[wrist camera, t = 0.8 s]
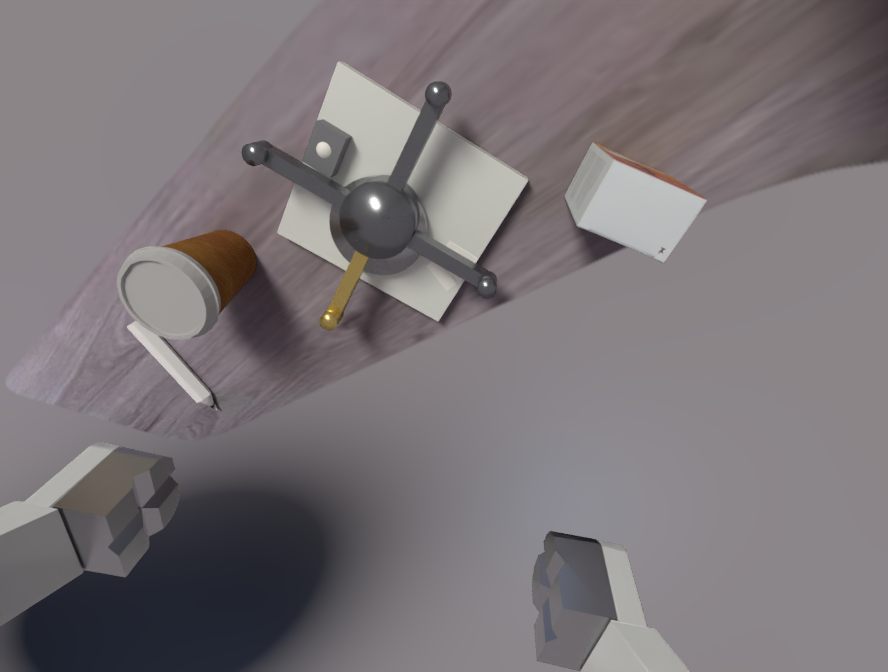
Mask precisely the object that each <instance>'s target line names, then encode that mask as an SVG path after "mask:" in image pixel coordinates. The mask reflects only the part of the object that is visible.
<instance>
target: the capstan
mask: <svg viewBox="0 0 888 672" xmlns="http://www.w3.org/2000/svg"><path fill="white" fill-rule="evenodd" d="M451 95H452V93H451V89H450V87H449V85H448V84H447V83H445V82H433V83H431V84H429V86H428V87H427V89H426V92H425V97H426V101H425V103H424V105H423V108H422V110H421V112H420V114H419V116H418V118H417V120H416V122H415V125H414V127H413V129H412V131H411V133H410V135H409V137H408V140H407V142H406V144H405V146H404V148H403V150H402V152H401V155H400V157H399V159H398V161H397V163H396V165H395V167H394V169H393V172H392V174H391V176H390V175H378V176H376V175H375V176H366V177H362V178H359V179H357V180H355V181H353V182H351V183H350V184H348V185H347V186H346V187H343V186H342V185H340V184H338V183H337V182H335V181H333V180H331V179H330V178H328V177H326V176H325V175H323V174H321V173H319V172H318V171H316V170H314V169H313V168H311V167H309V166H307V165H306V164H304V163H302V162H300V161H299V160H297V159H295V158H294V157H292V156H290V155H288V154H287V153H285V152H283V151H282V150H280V149H278V148H276V147H275V146H273V145H271V144H270V143H269V142H267V141H264V140H262V141H258V142H254V143H250V144H246V145H245V146H244V147H243V148H242V157H243V159H244V160H245V162H246V163H247V164H249V165H251V166H257V165H260V164H263V165H264V166H266V167H268V168H270V169H271V170H273V171H275V172H277V173H278V174H280V175H282V176H284V177H285V178H287V179H289V180H291V181H292V182H294V183H296V184H298V185H299V186H301V187H303V188H305V189H306V190H308V191H310V192H312V193H313V194H315V195H317V196H319V197H320V198H322V199H324V200H326V201H327V202H329V203H331V204H332V207H331V211H330V219H329V223H330V231H331V235H332V238H333V241H334V243H335V245H336V247H337V249H338V250H339V252H340V253H341V254H342V256H343V257H344V258H345V259H346V260H347V261H348V262H349V265H348V268H347V270H346V272H345V274H344V276H343V278H342V280H341V283H340V285H339V287H338V289H337V291H336V293H335V295H334V297H333V300H332V302H331V304H330V306H329V308H328V309H327V310H326V311H325V313H324V314H323V315H322V317H321V318H320V320H319V323H320V326H321V327H322V328H323V329H325V330H328V331H331V330H333V329H335V327H336V326H337V324H338V323H339V321H340V320H341V319H342V317H343V315H344V310H345V308H346V306H347V304H348V302H349V300H350V298H351V296H352V294H353V292H354V289H355V287H356V285H357V283H358V281H359V279H360V277H361V275H362V273H363V271H364V272H367V273H370V274H375V275H392V274H396V273H399V272H401V271H404V270H405V269H407V268H409V267H410V266H411V265H412V264H413V263H414V262H415V261H416V260H417V259H418V257H419V256H420V255H422V256H423V257H425V258H427V259H429V260H430V261H432V262H434V263H436V264H437V265H439V266H441V267H443V268H444V269H446V270H448V271H450V272H451V273H453V274H455V275H457V276H458V277H460V278H462V279H464V280H465V281H467V282H469V283H470V284H472V285H474V286H476V287H477V292H478V294H479V295H480V296H481V297H482V298H491V297H493V296H494V295H495V293H496V284H497V278H496V275H495V274H494V273H492V272H490V271H488V270H486V269H484V268H483V267H481V266H479V265H478V264H476V263H474V262H472V261H471V260H469V259H467V258H466V257H464V256H462V255H460V254H459V253H457V252H455V251H454V250H452V249H450V248H448V247H447V246H445V245H443V244H441V243H440V242H438V241H436V240H435V239H433V238H431V237H429V236H428V223H427V217H426V213H425V211H424V208H423V206H422V204H421V202H420V201H419V199H418V196H417V195H416V193H415V191H414V190H413V189H412V188H411V186H410V185H408V184H407V182H408V180H409V178H410V176H411V174H412V172H413V170H414V168H415V166H416V164H417V162H418V160H419V158H420V156H421V154H422V152H423V149H424V147H425V145H426V143H427V141H428V139H429V137H430V135H431V133H432V131H433V129H434V127H435V125H436V123H437V121H438V119H439V117H440V115H441V113H442V111H443V109H444V107H445V105H446V104H448V103H449V101H450V99H451Z"/></svg>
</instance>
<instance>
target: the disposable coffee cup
mask: <svg viewBox="0 0 888 672" xmlns="http://www.w3.org/2000/svg"><path fill="white" fill-rule="evenodd" d="M255 269H256V257H255V254H254V252H253V249H252V248H251V246H250V245H249V244H248V242H247V241H246V240H245V239H244V238H242V237H241V236H239V235H238V234H236V233H234V232H231V231H228V230H218V231H214V232H211V233H207V234H204V235H200V236H197V237H193V238H190V239H186V240H183V241H179V242H176V243H172V244H169V245H165V246H162V247H158V246H151V247H143V248H140V249H138V250H136V251H134V252H132V253H131V254H130V255H129V256H128V257H127V259H126V260H125V262H124V265H123V266H122V267H121V269H120V271H119V273H118V276H117V288H118V292H119V296H120V299H121V301H122V303H123V305H124V307H125V308H126V310H127V311H128V313H129V314H130V315H131V316H132V317H133V318H134V319H135V320H136V321H137V322H138V323H139V324H140V325H141V326H143V327H144V328H146V329H147V330H149V331H150V332H152V333H154V334H156V335H159V336H161V337H164V338H167V339H175V340H181V339H188V338H192V337H198V336H201V335H203V334H205V333H207V332H208V331H209V330H211V329H212V328H213V326H214V325H215V323H216V322H217V320H218V316H219V314H220V312H221V311H222V310H223V309H224V308H225V307H226V305H227V304H228V303H229V302H230V301H231V300H232V298H233V297H234V296H235V295H236V294H237V293H238V291H239V290H240V289H241V288H242V287H243V286H244V284H245V283H246V282H247V281H248V280H249V278H250V277H251V276H252V275H253V273H254V272H255Z"/></svg>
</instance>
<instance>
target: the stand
mask: <svg viewBox="0 0 888 672" xmlns="http://www.w3.org/2000/svg"><path fill="white" fill-rule="evenodd" d="M420 112H421V110H419V109H418V108H416V107H415V106H413V105H411V104H410V103H408V102H407V101H405V100H403V99H402V98H400V97H399V96H397V95H395V94H394V93H392V92H391V91H389V90H387V89H386V88H384V87H383V86H381V85H379V84H378V83H376V82H375V81H373V80H371V79H370V78H368V77H367V76H365V75H364V74H362V73H360V72H359V71H357V70H356V69H354V68H352V67H351V66H349V65H348V64H346V63H344V62H339V61H338V63H337V66H336V69H335V71H334V74H333V77H332V80H331V83H330V86H329V88H328V91H327V94H326V97H325V100H324V102H323V105H322V108H321V111H320V114H319V116H318V119H317V121H316V123H315V126H314V129H313V131H312V134H311V137H310V140H309V143H308V146H307V148H306V151H305V154H304V157H303V160H302V163H304V164H306V165H307V166H309V167H311V168H313V169H314V170H316V171H318V172H319V173H321V174H323V175H325V176H326V177H328V178H330V179H331V180H333V181H335V182H337V183H338V184H340V185H342V186H343V187H346V186H347V185H348V184H350V183H351V182H353V181H355V180H357V179H359V178H362V177H366V176H375V175H376V176H378V175H390V176H391V174H392V172H393V169H394V167H395V165H396V163H397V161H398V159H399V157H400V155H401V152H402V150H403V148H404V146H405V144H406V142H407V140H408V137H409V135H410V133H411V131H412V129H413V127H414V125H415V122H416V120H417V118H418V116H419V114H420ZM527 182H528V177H526V176H524V175H523V174H521V173H520V172H518V171H517V170H515V169H513V168H512V167H510V166H509V165H507V164H505V163H504V162H502V161H501V160H499V159H497V158H496V157H494V156H493V155H491V154H489V153H488V152H486V151H485V150H483V149H481V148H480V147H478V146H477V145H475V144H473V143H472V142H470V141H469V140H467V139H466V138H464V137H462V136H461V135H459V134H458V133H456V132H454V131H453V130H451V129H450V128H448V127H446V126H445V125H443V124H442V123H440V122H438V121H437V123H436V125H435V127H434V129H433V131H432V133H431V135H430V137H429V139H428V141H427V143H426V145H425V147H424V149H423V152H422V154H421V156H420V158H419V160H418V162H417V164H416V166H415V168H414V170H413V172H412V174H411V176H410V178H409V180H408V182H407V184H408V185H410V186H411V188H412V189H413V190H414V191H415V193H416V195H417V196H418V199H419V201H420V202H421V204H422V206H423V208H424V211H425V213H426V217H427V223H428V236H429V237H431V238H433V239H435V240H436V241H438V242H440V243H441V244H443V245H445V246H447V247H448V248H450V249H452V250H454V251H455V252H457V253H459V254H460V255H462V256H464V257H466V258H467V259H469V260H471V261H472V262H474V263H476V262H477V261H478V259H479V257H480V256H481V254H482V252H483V251H484V249H485V248H486V246H487V245H488V243H489V242H490V240H491V238H492V237H493V235H494V234H495V232H496V231H497V229H498V227H499V226H500V224H501V223H502V221H503V220H504V218H505V216H506V215H507V213H508V212H509V210H510V209H511V207H512V206H513V204H514V202H515V201H516V199H517V198H518V196H519V195H520V193H521V191H522V190H523V188H524V187H525V185H526V184H527ZM331 207H332V204H331V203H329V202H327V201H326V200H324V199H322V198H320V197H319V196H317V195H315V194H313V193H312V192H310V191H308V190H306V189H305V188H303V187H301V186H299V185H298V184H296V183H295V184H294V187H293V189H292V192H291V195H290V198H289V201H288V203H287V206H286V209H285V212H284V215H283V218H282V220H281V223H280V226H279V229H278V232H277V233H278V234H280V235H282V236H284V237H285V238H287V239H289V240H291V241H293V242H295V243H296V244H298V245H300V246H302V247H304V248H305V249H307V250H309V251H311V252H313V253H315V254H316V255H318V256H320V257H322V258H324V259H325V260H327V261H329V262H331V263H333V264H334V265H336V266H338V267H340V268H342V269H344V270H345V271H346V270H347V268H348V265H349V262H348V261H347V260H346V259H345V258H344V257H343V256H342V254H341V253H340V252H339V250H338V249H337V247H336V245H335V243H334V241H333V238H332V235H331V231H330V223H329V219H330V211H331ZM360 279H362V280H364V281H365V282H367V283H369V284H371V285H373V286H374V287H376V288H378V289H380V290H382V291H383V292H385V293H387V294H389V295H391V296H393V297H394V298H396V299H398V300H400V301H402V302H403V303H405V304H407V305H409V306H411V307H413V308H414V309H416V310H418V311H420V312H422V313H423V314H425V315H427V316H429V317H431V318H432V319H434V320H436V321H439V320H440V318H441V317H442V315H443V314H444V312H445V310H446V309H447V307H448V306H449V304H450V303H451V301H452V299H453V298H454V296H455V295H456V293H457V292H458V290H459V288H460V287H461V285H462V284H463V282H464V281H465V280H464V279H462V278H460V277H458V276H457V275H455V274H453V273H451V272H450V271H448V270H446V269H444V268H443V267H441V266H439V265H437V264H436V263H434V262H432V261H430V260H429V259H427V258H425V257H423V256H422V255H420V256H419V257H418V259H417V260H416V261H415V262H414V263H413V264H412V265H411V266H410V267H409V268H407V269H405V270H404V271H401V272H399V273H396V274H392V275H375V274H370V273H367V272H364V271H363V273H362V275H361V277H360Z"/></svg>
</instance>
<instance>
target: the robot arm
mask: <svg viewBox="0 0 888 672" xmlns="http://www.w3.org/2000/svg"><path fill="white" fill-rule="evenodd" d="M174 470H175V467H174V463H173V459H172V458H169V457H165V456H161V455H157V454H152V453H147V452H143V451H139V450H134V449H130V448H125V447H121V446H115V445H111V444H106V443H102V442H99V443H96V444H94V445H91V446H89V447H88V448H87V449H86V450H85V451H83V452H82V453H81V454H80V455H79V456H78V457H76V458H75V459H74V460H73V461H72V462H70V463H69V464H68V465H67V466H66V467H65V468H64V469H62V470H61V471H60V472H59V473H58V474H57V475H55V476H54V477H53V478H52V479H51V480H49V481H48V482H47V483H46V484H45V485H44V486H42V487H41V488H40V489H39V490H38V491H37V492H35V493H34V494H33V495H32V496H31V497H29V498H28V499H27V500H26V501H25V502H22V501H15V502H12V503H10V504H7V505H5V506H3V507H0V626H1V625H3V624H4V623H6V622H7V621H9V620H11V619H12V618H14V617H15V616H17V615H18V614H20V613H21V612H23V611H25V610H26V609H28V608H29V607H31V606H32V605H34V604H35V603H37V602H38V601H40V600H42V599H43V598H45V597H46V596H48V595H49V594H51V593H52V592H54V591H56V590H57V589H59V588H60V587H62V586H63V585H65V584H66V583H68V582H70V581H71V580H73V579H74V578H76V577H77V576H79V575H80V574H82V573H83V570H87V571H93V572H99V573H104V574H110V575H116V576H122V577H126V576H127V575H128V573H129V572H130V571H131V569H132V568H133V567H134V566H135V564H136V563H137V562H138V560H139V559H140V558H141V557H142V555H143V554H144V553H145V551H146V550H147V549H148V548H149V536H151V535H152V534H154V533H156V532H158V531H160V530H161V529H163V528H164V527H165V526H166V524H167V523H168V522H169V520H170V519H171V518H172V516H173V514H174V512H175V509H176V507H177V505H178V502H179V494H180V492H179V486H178V483H177V482H176V481H175V480H174V479H173V478H172V477H171V476H170V474H172V472H173V471H174ZM544 551H545V552H544V553H542V554H540V555H538V558H537V561H536V564H535V567H534V573H533V579H532V596H533V604H534V605H535V607H536V608H537V609H538V611H539V615H538V618H537V620H536V622H535V625H534V627H535V628H534V629H535V643H536V657H537V661H539V662H544V663H548V664H552V665H556V666H560V667H565V668H569V669H573V670H578V671H580V672H690V670H689V669H688V668H687V667H686V666H685V664H684V663H683V662H682V661H681V659H680V658H679V657H678V656H677V655H676V653H675V652H674V651H673V650H672V649H671V647H670V646H669V645H668V644H667V642H666V641H665V640H664V639H663V637H662V636H661V635H660V634H659V632H658V631H657V630H656V629H654V628H650V627H648V626H647V622H646V619H645V615H644V612H643V608H642V605H641V601H640V598H639V594H638V590H637V587H636V583H635V580H634V576H633V573H632V569H631V566H630V562H629V559H628V555H627V551H626V549H625V548H624V546H623V545H620V544H615V543H610V542H605V541H599V540H596V539H592V538H585V537H581V536H575V535H570V534H564V533H558V532H553V531H550V532H549V533H548V534H547V535H546V538H545V540H544Z"/></svg>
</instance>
